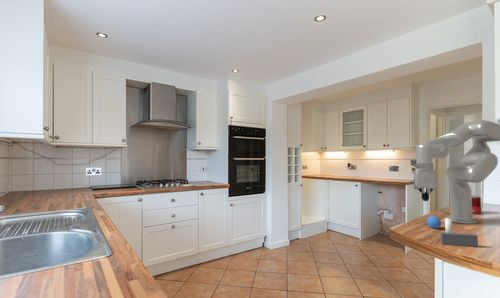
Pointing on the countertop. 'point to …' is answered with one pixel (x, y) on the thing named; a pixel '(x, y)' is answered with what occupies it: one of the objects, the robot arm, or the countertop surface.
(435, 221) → the ball
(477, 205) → the canned food
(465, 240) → the block
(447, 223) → the pin
